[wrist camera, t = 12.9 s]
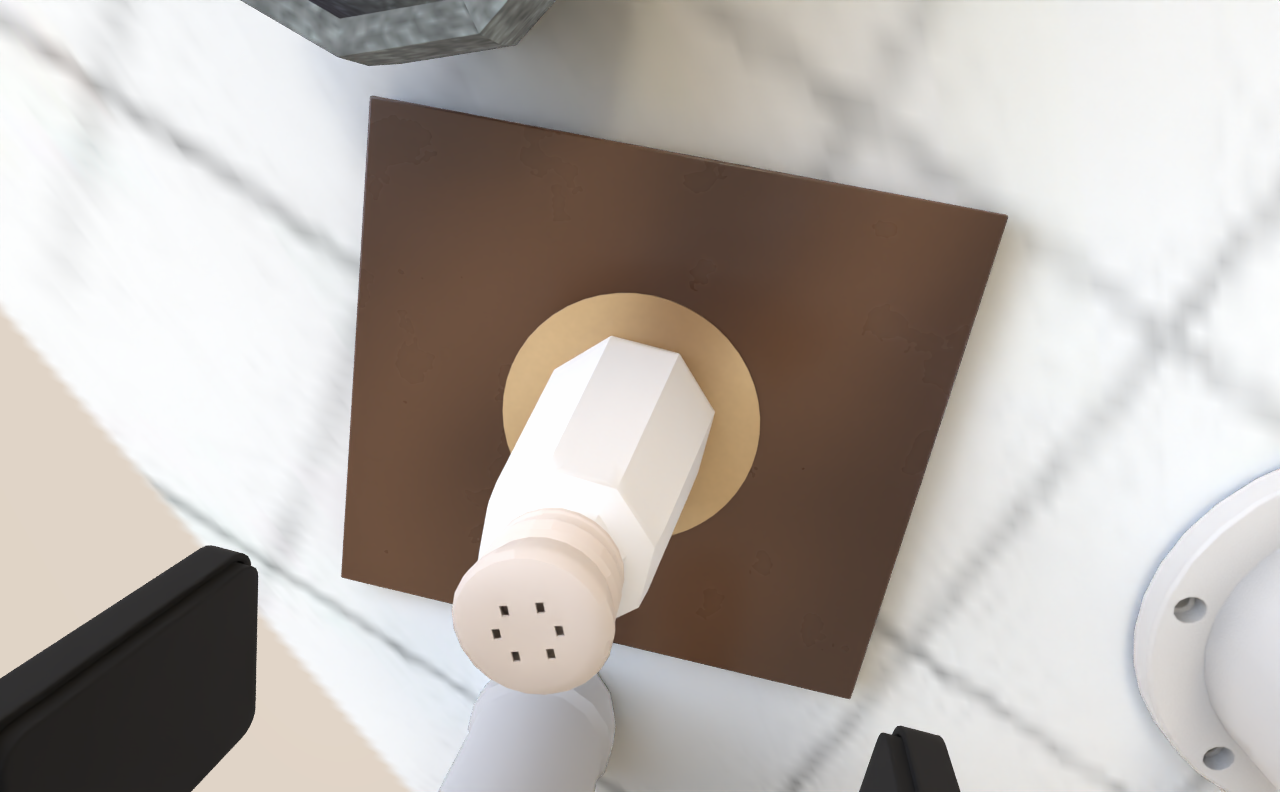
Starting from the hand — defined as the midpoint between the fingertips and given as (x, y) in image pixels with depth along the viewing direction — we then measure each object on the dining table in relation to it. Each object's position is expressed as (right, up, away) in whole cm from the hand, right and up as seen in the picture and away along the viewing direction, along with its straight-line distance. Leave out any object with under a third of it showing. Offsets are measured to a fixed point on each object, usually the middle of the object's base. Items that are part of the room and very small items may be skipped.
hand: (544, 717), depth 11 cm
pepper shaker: (+1, +4, +12) cm, 13 cm away
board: (+1, +4, +13) cm, 14 cm away
